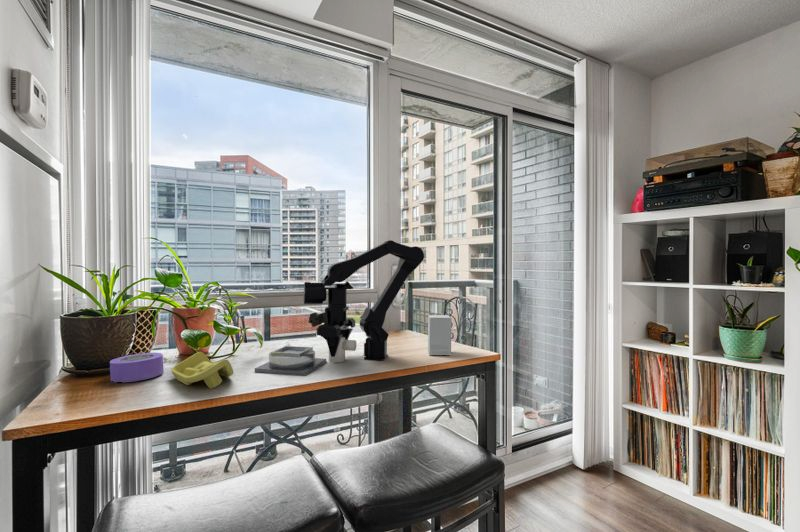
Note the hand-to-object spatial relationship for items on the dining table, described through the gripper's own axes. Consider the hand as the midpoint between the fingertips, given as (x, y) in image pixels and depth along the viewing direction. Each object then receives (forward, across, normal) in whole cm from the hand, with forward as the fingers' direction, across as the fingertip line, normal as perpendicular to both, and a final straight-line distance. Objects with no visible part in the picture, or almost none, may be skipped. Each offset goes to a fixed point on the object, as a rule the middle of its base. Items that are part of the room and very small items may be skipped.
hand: (337, 354), depth 126 cm
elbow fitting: (+2, 0, +2) cm, 3 cm away
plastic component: (+2, +29, -25) cm, 38 cm away
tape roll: (+2, +28, -45) cm, 53 cm away
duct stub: (+2, +10, -10) cm, 14 cm away
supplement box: (+2, -17, +30) cm, 35 cm away
